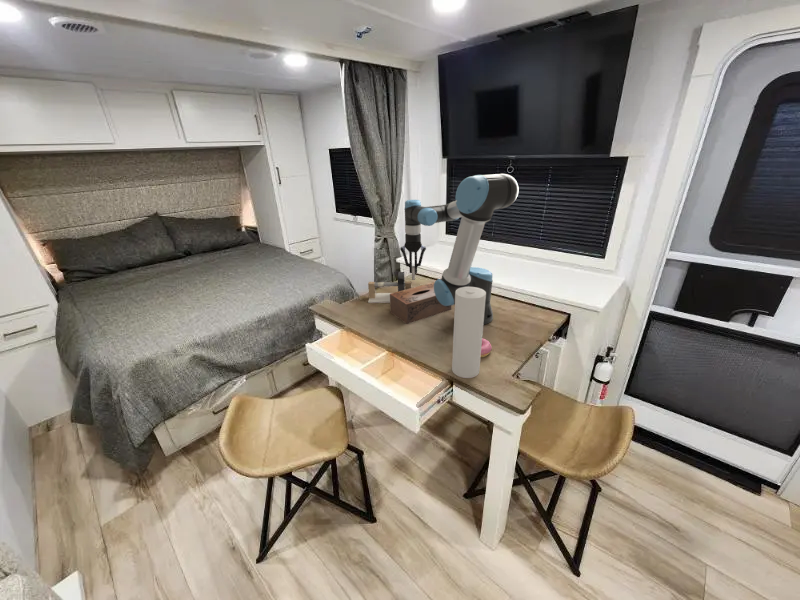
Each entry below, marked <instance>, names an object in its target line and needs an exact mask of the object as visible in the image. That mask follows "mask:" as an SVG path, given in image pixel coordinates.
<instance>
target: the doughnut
mask: <svg viewBox="0 0 800 600" xmlns="http://www.w3.org/2000/svg"><path fill="white" fill-rule="evenodd" d="M492 349H493V346H492V344H491V343H490V341H489V340H487V339H485V338H483V337H482V346H481V357H480V358H485V357H487V356H488V355H489V354H491V352H492Z"/></svg>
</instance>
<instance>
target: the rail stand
mask: <svg viewBox="0 0 800 600" xmlns="http://www.w3.org/2000/svg"><path fill="white" fill-rule="evenodd" d="M367 285H368V289H367V290H368V302H367V304H390V294H391V293H392V292H376V287H383V288H384V287H398V281H397V282H395V281H394V282H389V281H388V282H384V281H382V282H375V281H368V284H367ZM404 286H405V290H406V289H410V288H412V281H405V282H404Z"/></svg>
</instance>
